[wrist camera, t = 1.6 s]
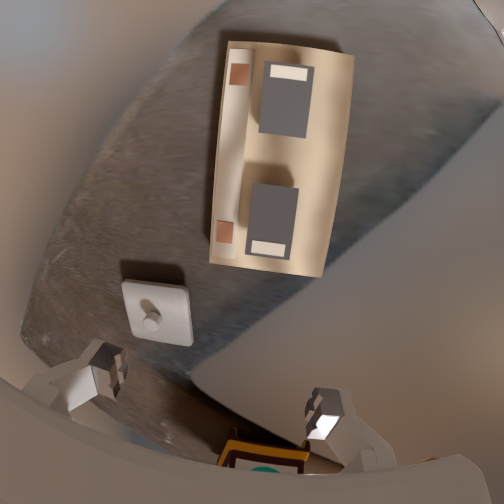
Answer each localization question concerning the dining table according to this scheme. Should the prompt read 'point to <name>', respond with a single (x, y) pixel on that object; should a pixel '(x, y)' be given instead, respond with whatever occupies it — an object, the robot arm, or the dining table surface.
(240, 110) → the switch panel
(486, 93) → the dining table surface
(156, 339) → the light switch
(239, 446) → the decorative lantern
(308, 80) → the plate
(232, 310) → the dining table surface
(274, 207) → the plate
